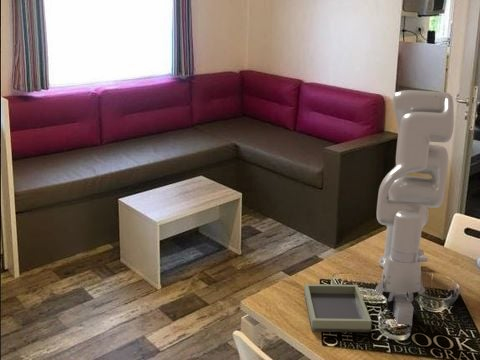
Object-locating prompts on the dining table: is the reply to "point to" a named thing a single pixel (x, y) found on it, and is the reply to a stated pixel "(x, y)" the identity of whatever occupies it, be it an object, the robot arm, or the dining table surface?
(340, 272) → the dining table surface
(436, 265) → the dining table surface
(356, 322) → the case
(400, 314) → the bar
